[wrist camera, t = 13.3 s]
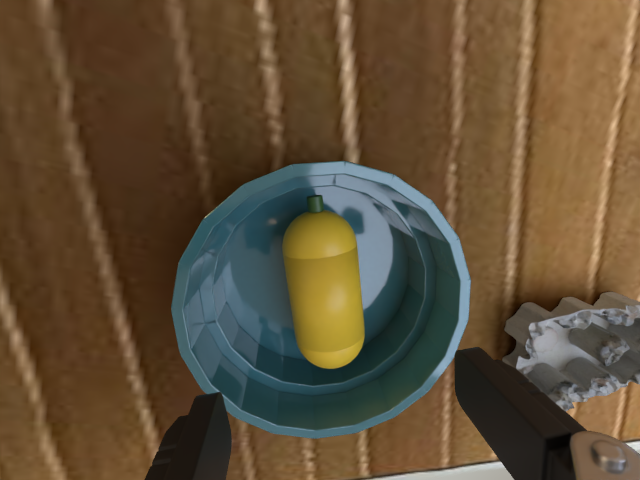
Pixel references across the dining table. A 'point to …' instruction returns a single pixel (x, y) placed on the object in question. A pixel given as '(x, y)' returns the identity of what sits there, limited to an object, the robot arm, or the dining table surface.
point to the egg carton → (577, 347)
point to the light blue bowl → (275, 310)
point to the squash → (324, 286)
